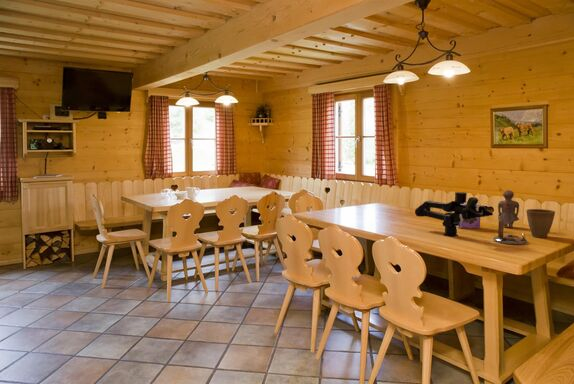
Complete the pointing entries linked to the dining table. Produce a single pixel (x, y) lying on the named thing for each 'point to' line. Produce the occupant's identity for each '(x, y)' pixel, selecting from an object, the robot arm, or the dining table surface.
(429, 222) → the dining table surface
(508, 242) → the post base
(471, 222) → the candy box
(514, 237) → the crank handle
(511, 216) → the clay figurine
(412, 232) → the dining table surface
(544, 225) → the plant pot
